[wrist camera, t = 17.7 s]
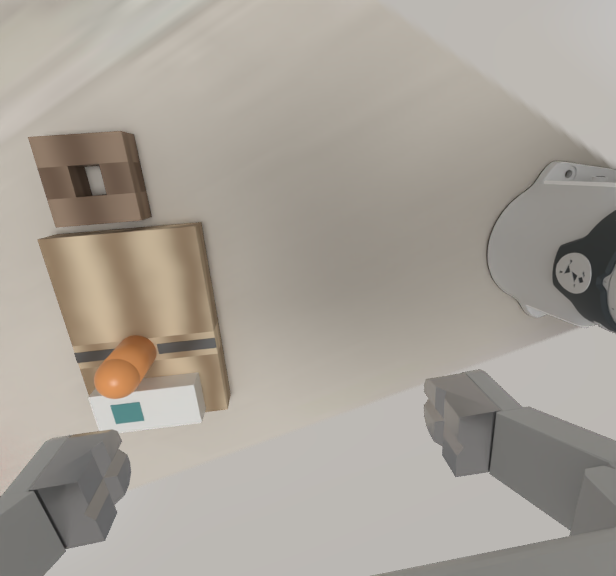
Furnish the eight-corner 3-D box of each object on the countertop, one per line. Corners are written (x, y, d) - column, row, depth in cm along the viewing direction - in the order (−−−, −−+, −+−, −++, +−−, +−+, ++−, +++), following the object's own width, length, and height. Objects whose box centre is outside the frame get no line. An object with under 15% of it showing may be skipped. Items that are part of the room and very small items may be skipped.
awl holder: (133, 134, 34) (121, 130, 31) (151, 216, 36) (141, 220, 33) (48, 140, 33) (27, 137, 30) (73, 223, 36) (55, 227, 33)
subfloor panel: (201, 222, 37) (194, 226, 34) (230, 394, 44) (227, 409, 41) (55, 234, 36) (36, 239, 33) (110, 408, 43) (98, 425, 40)
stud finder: (198, 372, 39) (193, 385, 37) (205, 408, 41) (201, 423, 38) (99, 383, 38) (87, 397, 36) (110, 420, 40) (100, 436, 38)
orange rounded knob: (160, 322, 40) (126, 367, 31) (167, 353, 41) (136, 405, 32) (124, 326, 40) (79, 373, 30) (133, 357, 41) (92, 410, 32)
